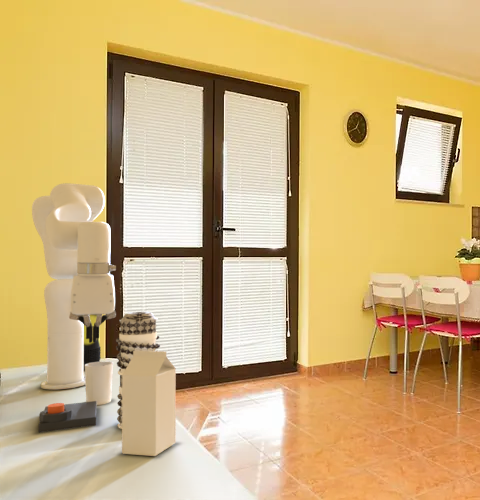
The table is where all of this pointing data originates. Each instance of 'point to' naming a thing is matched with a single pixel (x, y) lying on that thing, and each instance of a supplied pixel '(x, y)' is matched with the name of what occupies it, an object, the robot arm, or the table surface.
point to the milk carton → (148, 404)
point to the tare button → (55, 408)
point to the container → (91, 345)
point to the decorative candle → (134, 343)
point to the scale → (69, 417)
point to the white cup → (98, 382)
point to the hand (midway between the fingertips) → (92, 341)
